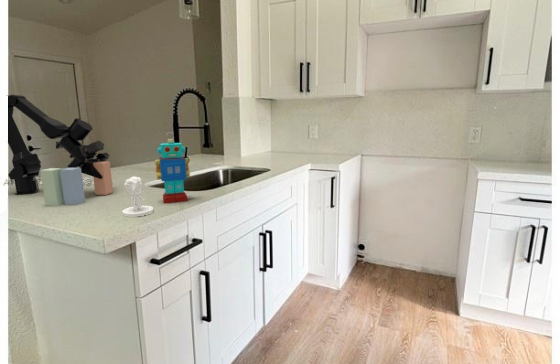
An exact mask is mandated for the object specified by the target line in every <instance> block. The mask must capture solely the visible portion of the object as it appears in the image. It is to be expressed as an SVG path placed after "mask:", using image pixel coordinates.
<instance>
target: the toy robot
mask: <svg viewBox="0 0 560 364" xmlns="http://www.w3.org/2000/svg"><path fill="white" fill-rule="evenodd" d="M169 133H171V134H173V132H172V131H169V132H167V134H166V135H168V134H169ZM156 152H157V153H158V154H160V155H161V156H160V157H159V158H158V159H155V161H154V164H155V173H156V180H157V181H158V180H161V182H163V183H164V193H163V194H162V200H163V203H164V204H169V203H170V204H171V203H181V202H188V195H187V193H186V192H185V188H184V187H185V185H184V181H185V180H187V178H190V176H191V172H190V170H189V169H190V167H189V162H190V161H189V157H184V156H183V153H185V152H186V147H185V146H183V145H182V143H181V142H175V140H174V138H168V139H167V142H166V143H160V147H158V148H157V151H156Z"/></svg>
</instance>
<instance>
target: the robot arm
mask: <svg viewBox="0 0 560 364" xmlns="http://www.w3.org/2000/svg"><path fill="white" fill-rule="evenodd" d="M7 96H8V142H7V143H8V146H9V148H10V150H11V153H12V159H11V160H12V161H11V163H12V166H13V168H12V169H11V171H10V172H9V173H8V177H9V179H10V180H12V181H14V186H15V191H16V192H15V193H14V195H25V194H26V195H27V194H35V193H36V192H38V191H39V190H40V186H39V181H38V179H37V178H36V177H37V176H38V177H39V175H40V174H39V173H40V170H41V168H42V165H41V163H42V161H41V160H40V159H39V155H38V154H37V153H32V152H31V151H29V149H28V147H27V145H26V143H25V141H24V138H23V137H22V134H21V131H19V128H18V126H17V124H16V121H15V120H14V117H13V115H14V110H15V109H14V107H15V108H16V109H17V110H19V111H20V112H21V113H22V114H24V115H25V116H26V117H28V118H29V119H31V121H33V122H34V123H35V124H36V125H37V126H39V129H40V131H41V132H42V133H43V134H44V136H46V137H47V138H48V139H51V140H55V139H60V140H59V141H58V140H57V141H55V149H57V150H58V149H64V150H65V151H66V152H67V153H68V154H70V155H69V158H70V159H72V160H71V161H70V163H69V164H68V165H67V166H66V168H81V172H82V174H84V175H88V176H91V177H92V178H93V177H96V178H99V179H102V178H103V177H102V175H101V174H100V173H99V172H98V171H97V169H96V168H95V167H94V166H93V163H94V162H99V161H105V162H107V160H108V159H109V158H110V156H111V155H110V154H109V153H107V152H99V151H103V150H104V149H105V143H104V142H102V141H100V140H96V141H94V142H92V143H90V144H89V143H88V144H84V145H83V144H82V142H80V141H85V139H86V138H87V137H88V136H89V135H90V133H92V131H93V130H94V129H93V126H92V125H91V124H90V123H88V122H87V121H84V120H82V119H81V118H74V119H73V122H72V123H71V125H69V126H68V125H66V124H65V123H63V122H61V120H60V121H59V120H57V119H54V118H52V117H50V116H49V115H47V114H46V113H45V112H44V111H42V110H41V109H40V108H38V107H37V106H36V105H35V104H33V103H32V102H31V101H29V100H28V99H27V97H26V96H24V95H21V94H10V95H7ZM97 152H98V153H97Z"/></svg>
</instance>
